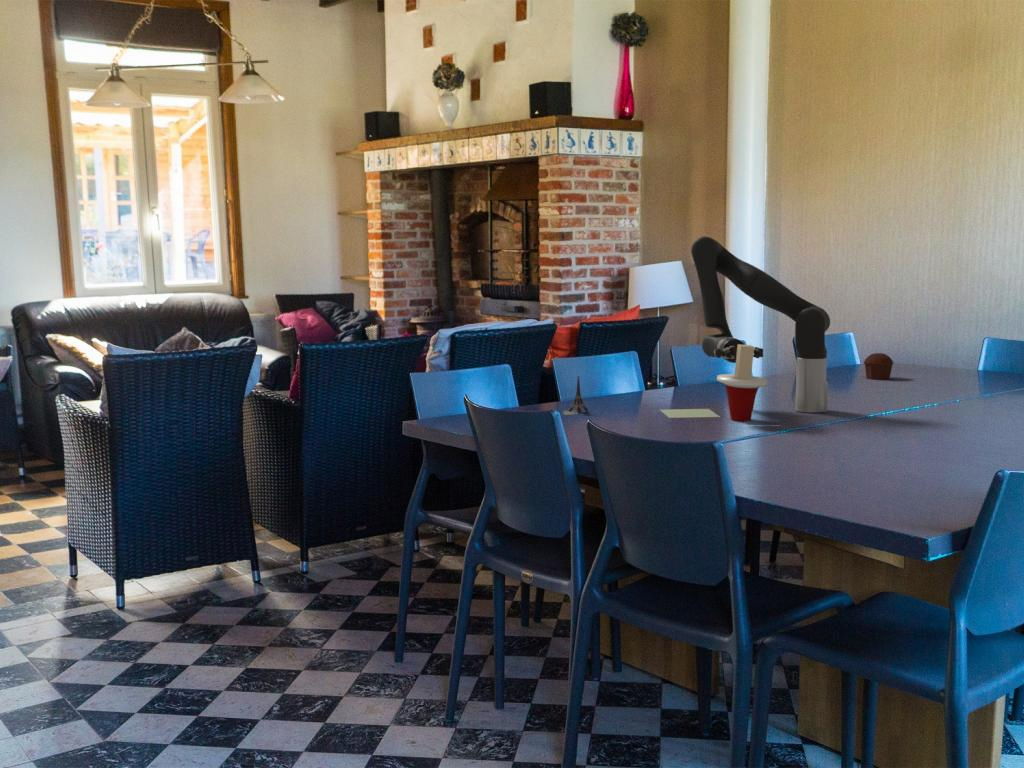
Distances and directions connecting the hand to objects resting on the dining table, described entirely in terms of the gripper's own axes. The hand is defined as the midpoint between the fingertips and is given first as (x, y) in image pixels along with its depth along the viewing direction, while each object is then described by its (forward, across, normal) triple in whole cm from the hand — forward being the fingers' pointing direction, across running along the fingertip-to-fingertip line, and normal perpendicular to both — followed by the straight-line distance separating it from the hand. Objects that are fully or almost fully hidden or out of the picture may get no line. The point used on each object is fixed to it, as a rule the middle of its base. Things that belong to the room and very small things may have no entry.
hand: (744, 354), depth 308 cm
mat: (-16, -13, +20) cm, 29 cm away
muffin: (-98, +80, +21) cm, 128 cm away
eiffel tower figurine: (-26, -48, +21) cm, 58 cm away
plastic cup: (-2, 0, +21) cm, 21 cm away
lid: (-2, 0, +8) cm, 9 cm away
